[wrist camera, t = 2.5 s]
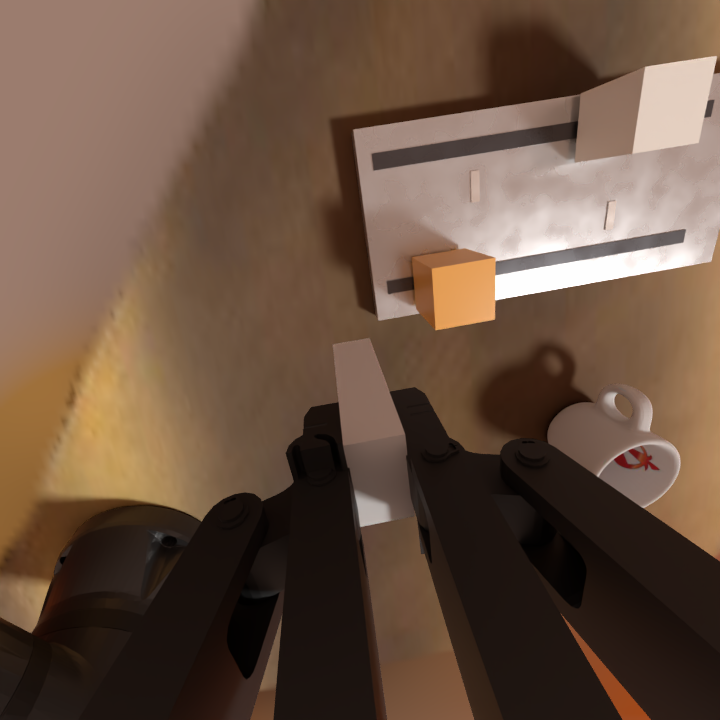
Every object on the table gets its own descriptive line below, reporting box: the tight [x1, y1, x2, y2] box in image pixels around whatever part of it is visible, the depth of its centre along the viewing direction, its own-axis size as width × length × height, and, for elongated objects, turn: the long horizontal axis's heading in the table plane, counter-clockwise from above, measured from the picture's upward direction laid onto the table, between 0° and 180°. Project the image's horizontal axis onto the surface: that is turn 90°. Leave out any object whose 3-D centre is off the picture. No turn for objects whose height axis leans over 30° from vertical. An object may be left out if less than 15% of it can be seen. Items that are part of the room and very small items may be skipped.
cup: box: [547, 384, 680, 508], centre depth 33 cm, size 11×8×8 cm
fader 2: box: [575, 56, 717, 163], centre depth 22 cm, size 4×4×5 cm
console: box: [351, 73, 720, 321], centre depth 27 cm, size 28×13×2 cm, turn 98°
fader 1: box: [412, 248, 496, 330], centre depth 25 cm, size 4×4×5 cm
